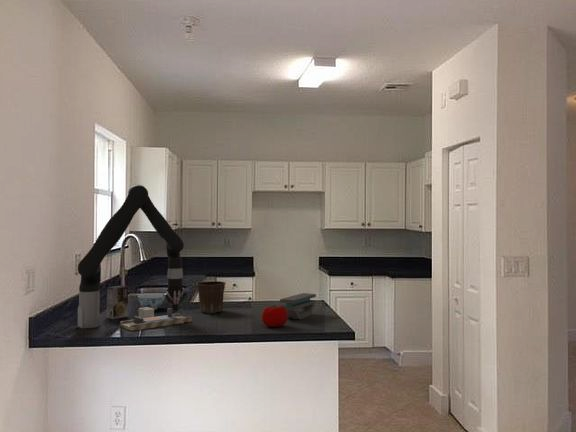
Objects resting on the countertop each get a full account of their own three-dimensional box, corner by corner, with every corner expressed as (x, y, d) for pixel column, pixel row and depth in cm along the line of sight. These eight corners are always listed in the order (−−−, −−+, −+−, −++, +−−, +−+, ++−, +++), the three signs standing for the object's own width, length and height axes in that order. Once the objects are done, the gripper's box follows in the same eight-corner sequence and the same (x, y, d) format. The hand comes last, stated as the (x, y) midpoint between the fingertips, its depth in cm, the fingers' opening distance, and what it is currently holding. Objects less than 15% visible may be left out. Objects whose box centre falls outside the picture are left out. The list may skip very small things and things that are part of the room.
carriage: (147, 324, 250) (147, 313, 250) (138, 321, 256) (138, 310, 256) (177, 319, 260) (177, 309, 260) (168, 317, 267) (168, 307, 267)
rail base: (131, 330, 242) (131, 321, 242) (119, 326, 252) (119, 317, 252) (191, 321, 263) (191, 312, 263) (178, 318, 273) (178, 309, 273)
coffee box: (121, 315, 281) (121, 285, 281) (128, 316, 277) (128, 286, 277) (106, 317, 274) (106, 287, 274) (113, 319, 270) (113, 288, 270)
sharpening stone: (303, 312, 289) (303, 293, 289) (315, 314, 285) (315, 294, 285) (280, 320, 267) (280, 299, 267) (293, 321, 263) (293, 300, 263)
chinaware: (149, 312, 290) (149, 298, 290) (132, 309, 299) (132, 296, 299) (170, 308, 302) (170, 295, 302) (153, 306, 311) (153, 293, 311)
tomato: (290, 328, 248) (290, 306, 248) (264, 329, 245) (264, 307, 245) (283, 323, 259) (283, 302, 259) (259, 325, 255) (259, 304, 255)
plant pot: (200, 315, 281) (200, 285, 281) (193, 310, 296) (193, 282, 296) (229, 313, 288) (229, 283, 288) (220, 308, 302) (220, 280, 302)
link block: (144, 321, 264) (144, 309, 264) (138, 319, 269) (138, 308, 269) (153, 320, 267) (153, 308, 267) (147, 318, 272) (147, 306, 272)
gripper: (166, 278, 257) (167, 314, 257) (190, 276, 266) (190, 310, 266) (159, 277, 263) (159, 312, 263) (182, 275, 272) (182, 308, 272)
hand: (175, 311), depth 265 cm, fingers closed
